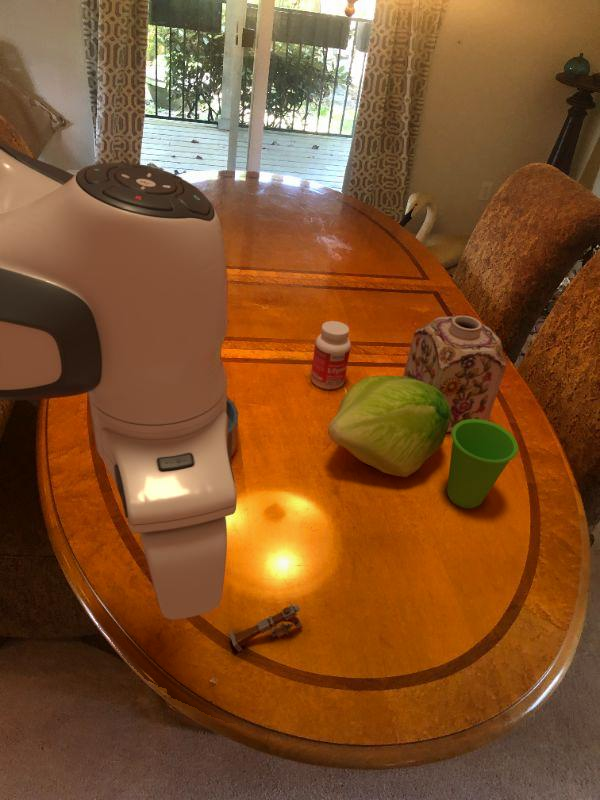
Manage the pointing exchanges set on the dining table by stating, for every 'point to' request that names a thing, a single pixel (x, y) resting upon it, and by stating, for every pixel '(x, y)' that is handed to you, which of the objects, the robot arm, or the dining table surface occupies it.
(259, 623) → the brown buckled strap
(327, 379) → the pill bottle
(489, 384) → the decorative jar
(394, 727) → the dining table surface
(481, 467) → the cup
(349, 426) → the lettuce
